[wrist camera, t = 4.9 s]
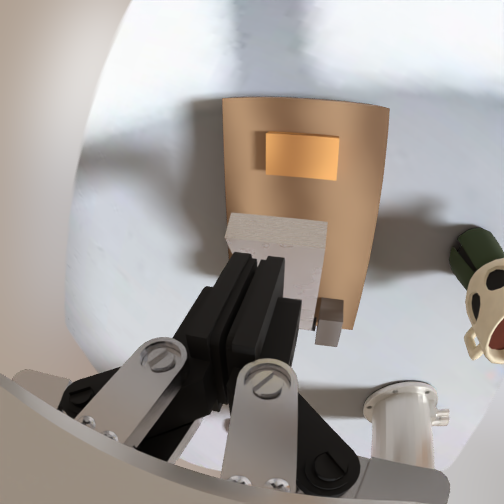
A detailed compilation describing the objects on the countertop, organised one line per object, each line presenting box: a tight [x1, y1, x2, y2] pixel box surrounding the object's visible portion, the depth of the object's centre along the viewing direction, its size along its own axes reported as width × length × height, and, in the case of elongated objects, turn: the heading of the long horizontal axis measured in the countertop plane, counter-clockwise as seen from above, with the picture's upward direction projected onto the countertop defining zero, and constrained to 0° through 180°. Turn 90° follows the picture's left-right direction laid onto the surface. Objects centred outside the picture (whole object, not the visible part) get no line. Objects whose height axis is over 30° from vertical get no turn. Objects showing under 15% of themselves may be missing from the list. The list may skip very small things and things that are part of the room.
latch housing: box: [222, 97, 390, 347], centre depth 25 cm, size 12×20×9 cm, turn 0°
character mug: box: [449, 228, 504, 364], centre depth 21 cm, size 11×7×13 cm, turn 161°
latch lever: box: [224, 213, 328, 331], centre depth 20 cm, size 5×17×1 cm
